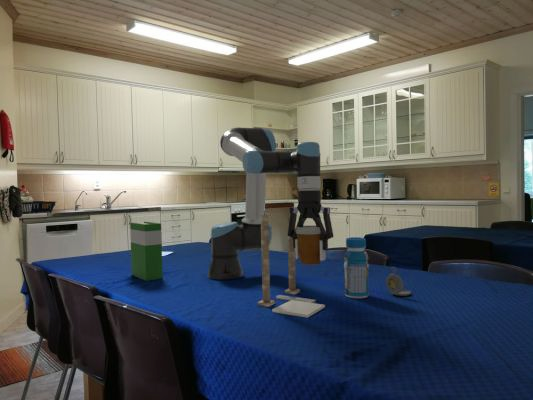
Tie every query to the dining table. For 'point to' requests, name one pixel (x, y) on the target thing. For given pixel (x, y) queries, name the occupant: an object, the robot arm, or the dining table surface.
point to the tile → (298, 308)
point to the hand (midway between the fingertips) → (310, 259)
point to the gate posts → (265, 264)
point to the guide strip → (295, 299)
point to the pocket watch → (398, 282)
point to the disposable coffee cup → (309, 244)
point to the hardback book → (146, 250)
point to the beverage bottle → (356, 268)
